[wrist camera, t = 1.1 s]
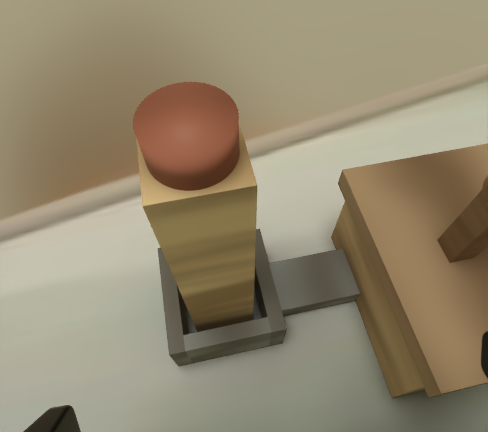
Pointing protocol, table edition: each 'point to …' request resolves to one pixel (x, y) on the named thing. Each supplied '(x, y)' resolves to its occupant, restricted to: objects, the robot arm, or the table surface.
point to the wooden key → (200, 198)
